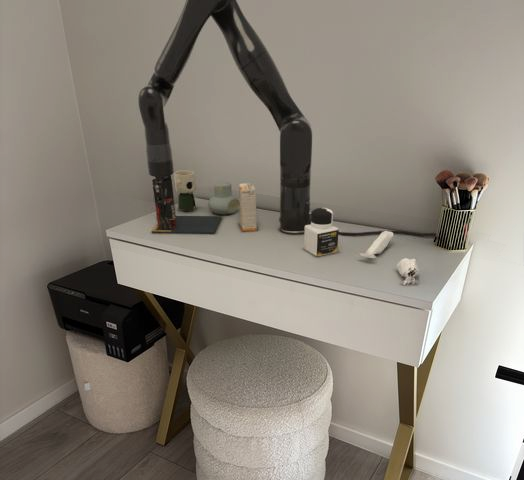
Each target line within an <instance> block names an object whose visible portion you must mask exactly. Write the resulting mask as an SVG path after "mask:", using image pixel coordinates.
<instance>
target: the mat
mask: <svg viewBox="0 0 524 480" xmlns="http://www.w3.org/2000/svg"><path fill="white" fill-rule="evenodd" d="M222 218H223V216H221V215H176V225H177V227H176V228H175V229H172V230H160V229H158V223H157V224H156V225H155V227H153V229H152V230H151V233H152V234H181V235H182V234H183V235H184V234H185V235H186V234H190V235H192V234H193V235H199V234H200V235H215V234H216V232H217V230H218V228H219V225H220V223H221V220H222Z"/></svg>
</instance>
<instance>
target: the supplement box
mask: <svg viewBox="0 0 524 480" xmlns="http://www.w3.org/2000/svg"><path fill="white" fill-rule="evenodd" d="M238 200H239V207H238V208H239V226H240V227H241V230H242V232H253V231H258V230H257V229H258V228H257V225H258V223H257V189H256V186H255V185H254V183H253V182H247V183H244V182H243V183H238Z"/></svg>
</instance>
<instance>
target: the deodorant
mask: <svg viewBox="0 0 524 480" xmlns="http://www.w3.org/2000/svg"><path fill="white" fill-rule="evenodd" d="M151 182H152V186H153V185H156V178H155V177H154V178H153V179H152V180H151ZM173 186H174V185H173V179H172V177H171V178H167V179H166V180H165V181H164V190H162V191H163V194H165V190H166V189H167V197H166V210H167V216H166V217H160V215H159V206H158V205H157V204H156V203H155V202H154V205H155V215H156V221H157V222H156V223H157V224H158V229H160V230H172V229H175V228H176V227H177V225H176V216H177V215H176V207H175V198H174V188H173ZM153 198H154V200H155V197H154V196H153ZM159 200H161V198H160V197H159Z"/></svg>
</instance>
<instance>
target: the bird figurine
mask: <svg viewBox="0 0 524 480" xmlns="http://www.w3.org/2000/svg"><path fill="white" fill-rule="evenodd" d="M417 264H418V263H417V260H416V258H411V259H410V258H409V257H408V258H407V257H405V258H402V259H401V260H400V261H399V262H398V263H397V266H396V269H397V271H398V273H399V274H400V276H401V277H404V278H405V279H404V280H403V281H402V283H403V285H404V286H406V284H407V286H408V285H409V284H412V285H415V282H416V279H415V277H416V276H417V275H419V274H420V270H419V267H418V265H417Z"/></svg>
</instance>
